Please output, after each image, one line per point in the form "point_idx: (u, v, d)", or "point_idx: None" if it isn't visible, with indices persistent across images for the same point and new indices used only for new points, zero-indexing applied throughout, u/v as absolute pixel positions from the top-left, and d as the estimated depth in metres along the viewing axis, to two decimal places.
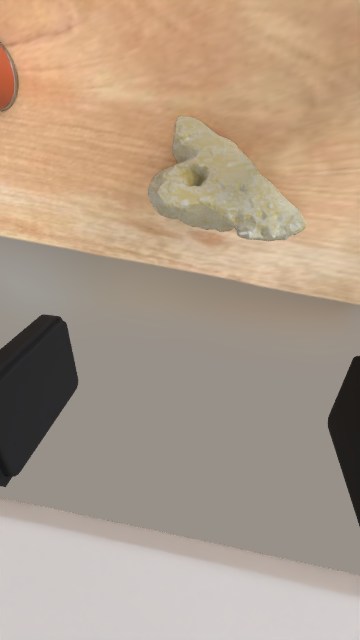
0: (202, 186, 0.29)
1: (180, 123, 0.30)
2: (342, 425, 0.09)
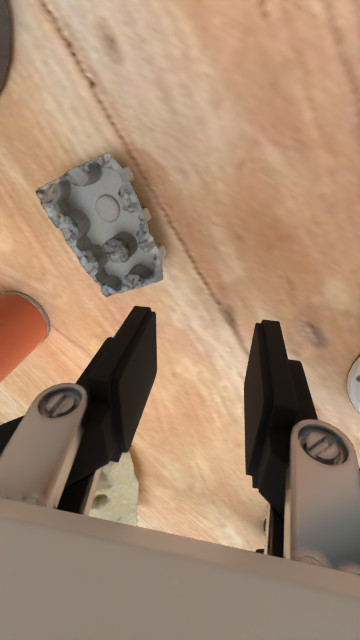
0: (98, 510, 0.41)
1: (119, 462, 0.41)
2: (247, 384, 0.10)
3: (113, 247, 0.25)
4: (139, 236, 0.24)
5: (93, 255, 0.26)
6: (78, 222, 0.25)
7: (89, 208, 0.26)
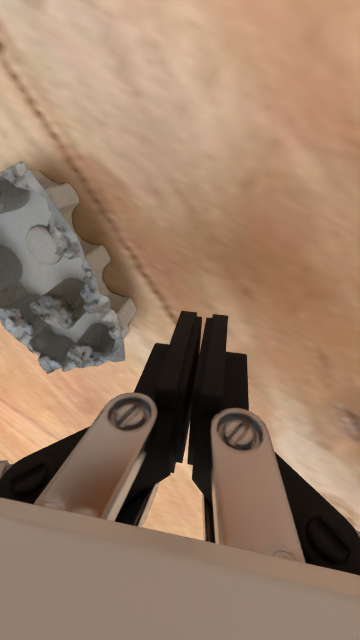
0: None
1: None
2: None
3: (47, 308, 0.16)
4: (85, 294, 0.15)
5: (22, 316, 0.17)
6: None
7: (18, 244, 0.17)
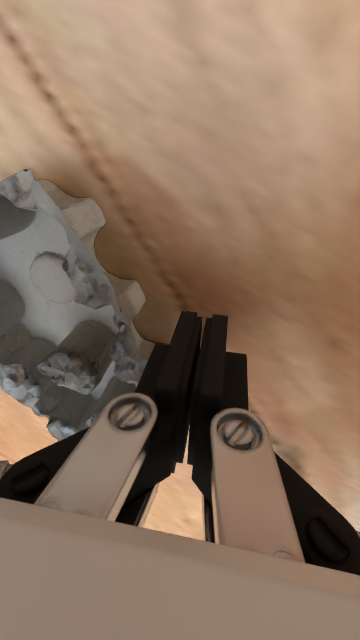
0: None
1: None
2: None
3: (61, 369, 0.11)
4: (117, 356, 0.10)
5: (26, 375, 0.12)
6: None
7: (20, 276, 0.13)
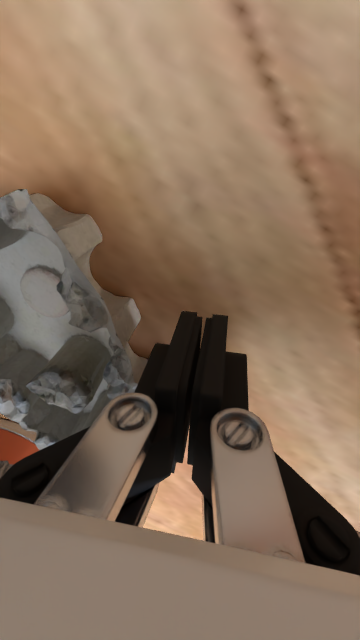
0: None
1: None
2: None
3: (52, 388, 0.11)
4: (111, 378, 0.10)
5: (14, 391, 0.12)
6: None
7: (9, 288, 0.12)
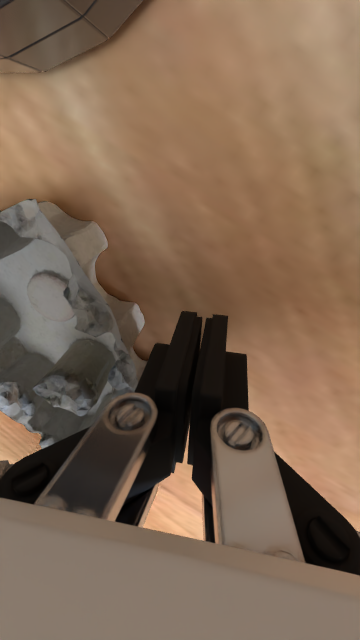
0: None
1: None
2: None
3: (58, 391, 0.11)
4: (115, 382, 0.10)
5: (20, 393, 0.12)
6: None
7: (16, 292, 0.13)
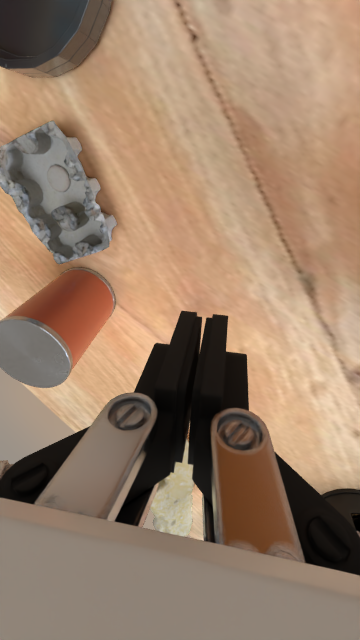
0: (157, 493, 0.40)
1: None
2: None
3: (62, 214, 0.26)
4: (86, 204, 0.25)
5: (44, 223, 0.27)
6: (29, 190, 0.26)
7: (41, 178, 0.27)
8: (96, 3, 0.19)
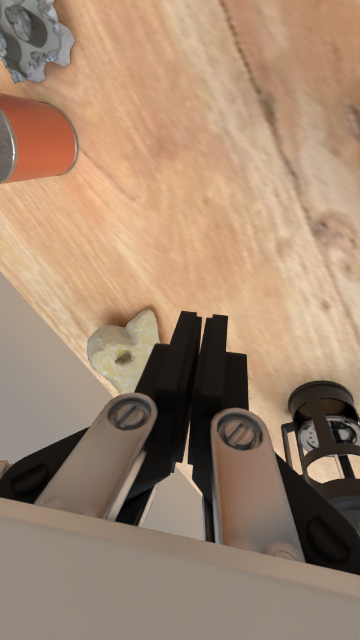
0: (123, 367, 0.40)
1: (144, 317, 0.40)
2: None
3: (15, 14, 0.26)
4: None
5: (0, 30, 0.27)
6: None
7: None
8: None
